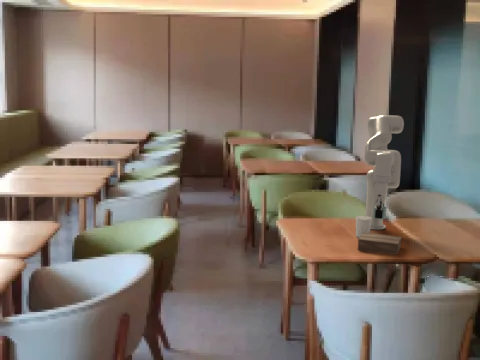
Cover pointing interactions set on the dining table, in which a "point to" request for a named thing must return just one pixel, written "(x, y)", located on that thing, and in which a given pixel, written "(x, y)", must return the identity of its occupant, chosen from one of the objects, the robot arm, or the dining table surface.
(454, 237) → the dining table surface
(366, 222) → the white cup
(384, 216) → the teal block
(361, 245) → the walnut riser
